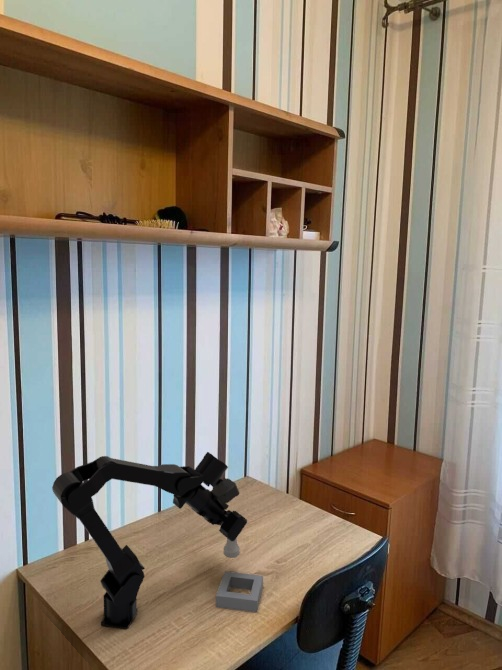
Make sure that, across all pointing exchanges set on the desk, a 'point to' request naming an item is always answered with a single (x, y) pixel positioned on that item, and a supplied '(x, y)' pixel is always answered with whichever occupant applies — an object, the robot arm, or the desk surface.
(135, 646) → the desk surface
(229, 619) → the desk surface
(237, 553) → the rook chess piece
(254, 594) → the hollow square block
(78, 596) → the desk surface
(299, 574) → the desk surface
